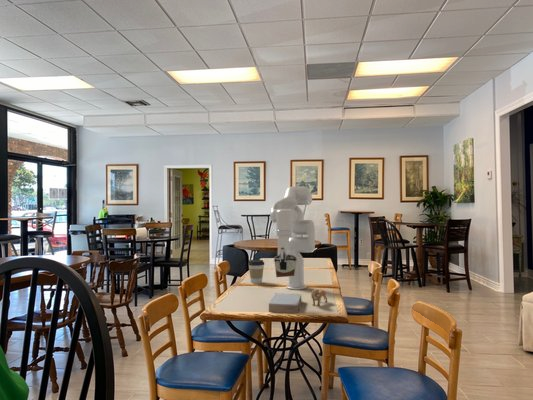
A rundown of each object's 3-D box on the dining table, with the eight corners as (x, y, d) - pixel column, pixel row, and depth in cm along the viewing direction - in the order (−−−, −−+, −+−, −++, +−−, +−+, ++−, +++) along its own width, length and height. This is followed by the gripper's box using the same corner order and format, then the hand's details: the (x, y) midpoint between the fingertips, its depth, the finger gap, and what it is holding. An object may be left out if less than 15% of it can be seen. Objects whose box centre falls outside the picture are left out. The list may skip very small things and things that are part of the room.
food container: (294, 271, 183) (294, 253, 181) (297, 275, 177) (297, 257, 175) (271, 272, 181) (271, 254, 179) (273, 277, 175) (273, 258, 173)
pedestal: (275, 300, 188) (275, 293, 188) (301, 301, 185) (301, 293, 185) (268, 311, 168) (268, 303, 168) (297, 312, 166) (297, 304, 166)
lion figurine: (319, 308, 172) (318, 290, 172) (309, 307, 175) (309, 289, 175) (328, 301, 185) (328, 284, 185) (319, 300, 188) (319, 283, 188)
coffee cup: (265, 280, 237) (265, 259, 237) (264, 284, 226) (263, 261, 226) (249, 280, 238) (249, 259, 238) (246, 284, 227) (246, 261, 227)
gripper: (279, 232, 187) (280, 265, 187) (273, 235, 170) (274, 271, 170) (293, 232, 185) (293, 265, 185) (288, 235, 168) (289, 271, 168)
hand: (284, 268), depth 177 cm, fingers closed on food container, 6 cm apart
